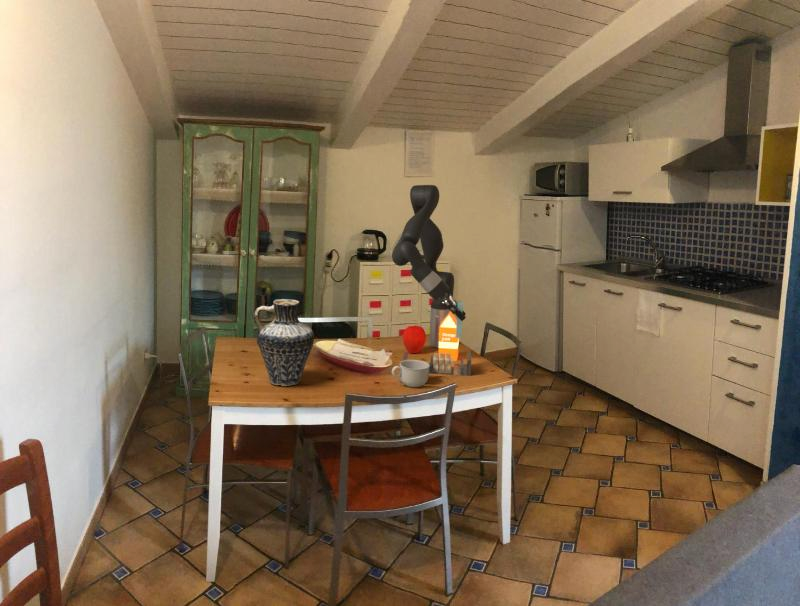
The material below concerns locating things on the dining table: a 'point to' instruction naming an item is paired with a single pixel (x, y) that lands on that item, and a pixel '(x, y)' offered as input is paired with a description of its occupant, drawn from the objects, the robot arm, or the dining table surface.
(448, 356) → the offcut
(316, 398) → the dining table surface
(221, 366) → the dining table surface
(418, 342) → the apple
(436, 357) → the offcut
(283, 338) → the jug
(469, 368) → the rack
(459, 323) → the teal board
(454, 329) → the orange juice
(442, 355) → the offcut
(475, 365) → the dining table surface
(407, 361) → the teacup
